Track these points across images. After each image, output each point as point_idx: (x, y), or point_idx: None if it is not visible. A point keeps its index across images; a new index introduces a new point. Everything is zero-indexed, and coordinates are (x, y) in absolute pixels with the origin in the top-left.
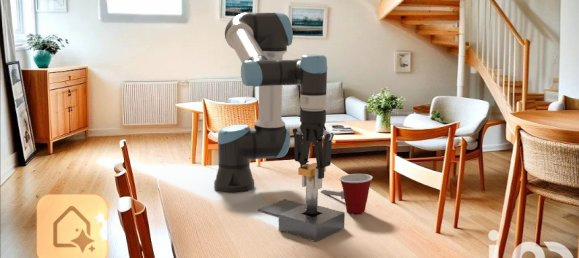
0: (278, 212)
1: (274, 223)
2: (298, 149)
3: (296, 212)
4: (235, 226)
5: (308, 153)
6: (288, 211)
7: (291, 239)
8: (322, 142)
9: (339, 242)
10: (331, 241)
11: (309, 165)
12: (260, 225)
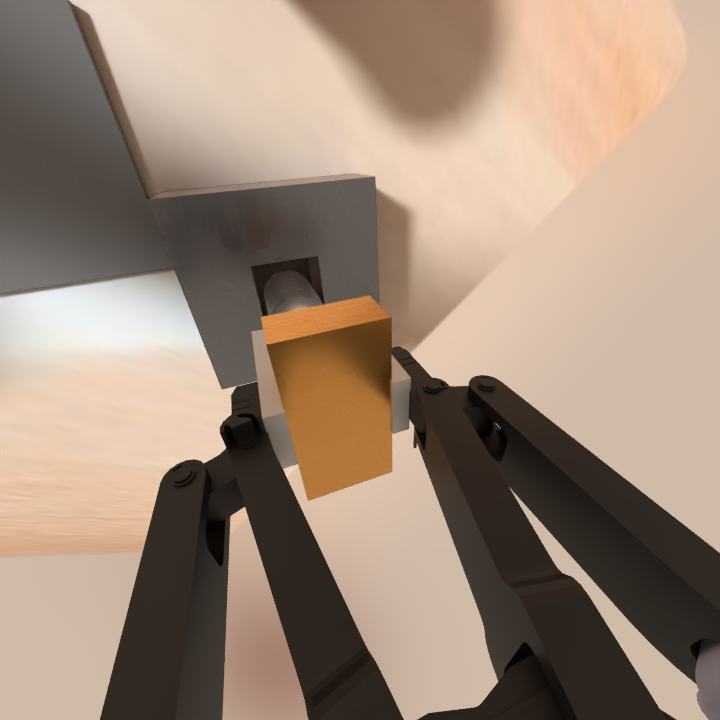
0: (26, 261)
1: (149, 335)
2: (219, 620)
3: (243, 331)
4: (109, 438)
5: (300, 507)
6: (214, 348)
7: None
8: (574, 589)
9: (408, 282)
10: (388, 294)
11: (313, 427)
12: (143, 379)
